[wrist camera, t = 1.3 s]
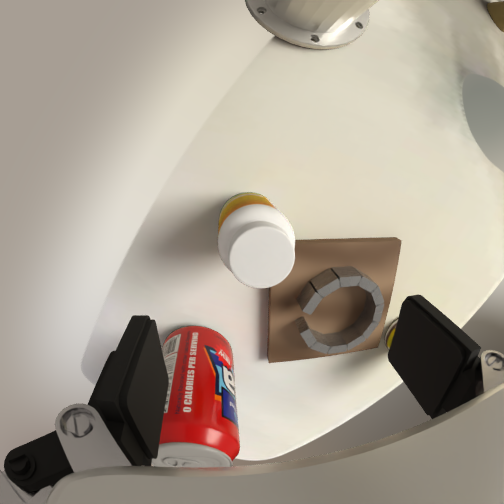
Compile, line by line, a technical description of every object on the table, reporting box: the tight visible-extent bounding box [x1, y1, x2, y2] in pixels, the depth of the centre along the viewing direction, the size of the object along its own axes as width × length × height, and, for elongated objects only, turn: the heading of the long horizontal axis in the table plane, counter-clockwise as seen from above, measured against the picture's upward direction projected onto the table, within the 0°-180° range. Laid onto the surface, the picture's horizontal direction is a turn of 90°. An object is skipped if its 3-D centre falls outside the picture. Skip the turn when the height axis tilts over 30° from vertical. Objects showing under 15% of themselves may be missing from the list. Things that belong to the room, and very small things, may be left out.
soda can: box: [151, 326, 240, 468], centre depth 23 cm, size 8×8×15 cm
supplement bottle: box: [218, 192, 295, 288], centre depth 21 cm, size 5×5×10 cm
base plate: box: [267, 237, 401, 363], centre depth 29 cm, size 14×14×1 cm
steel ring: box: [295, 266, 384, 354], centre depth 27 cm, size 9×9×2 cm
